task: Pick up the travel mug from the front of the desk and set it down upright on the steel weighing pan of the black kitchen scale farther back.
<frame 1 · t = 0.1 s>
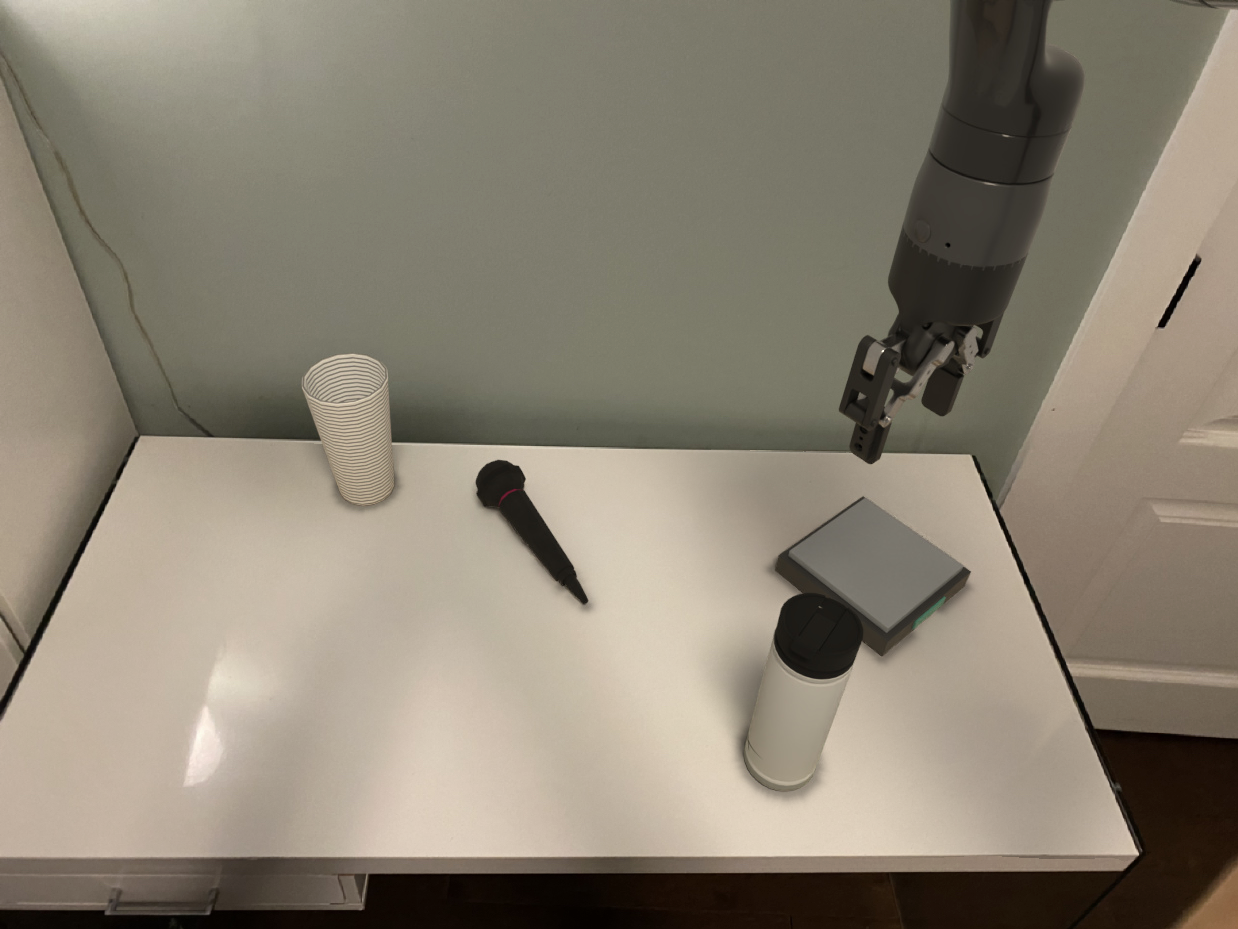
hand: (900, 432, 66), 30 cm above the table, tool pointing down, fingers open, 8 cm apart
scale: (869, 578, 95), on the table
microphone: (528, 545, 97), on the table
travel mug: (777, 761, 80), on the table
cup: (367, 488, 102), on the table
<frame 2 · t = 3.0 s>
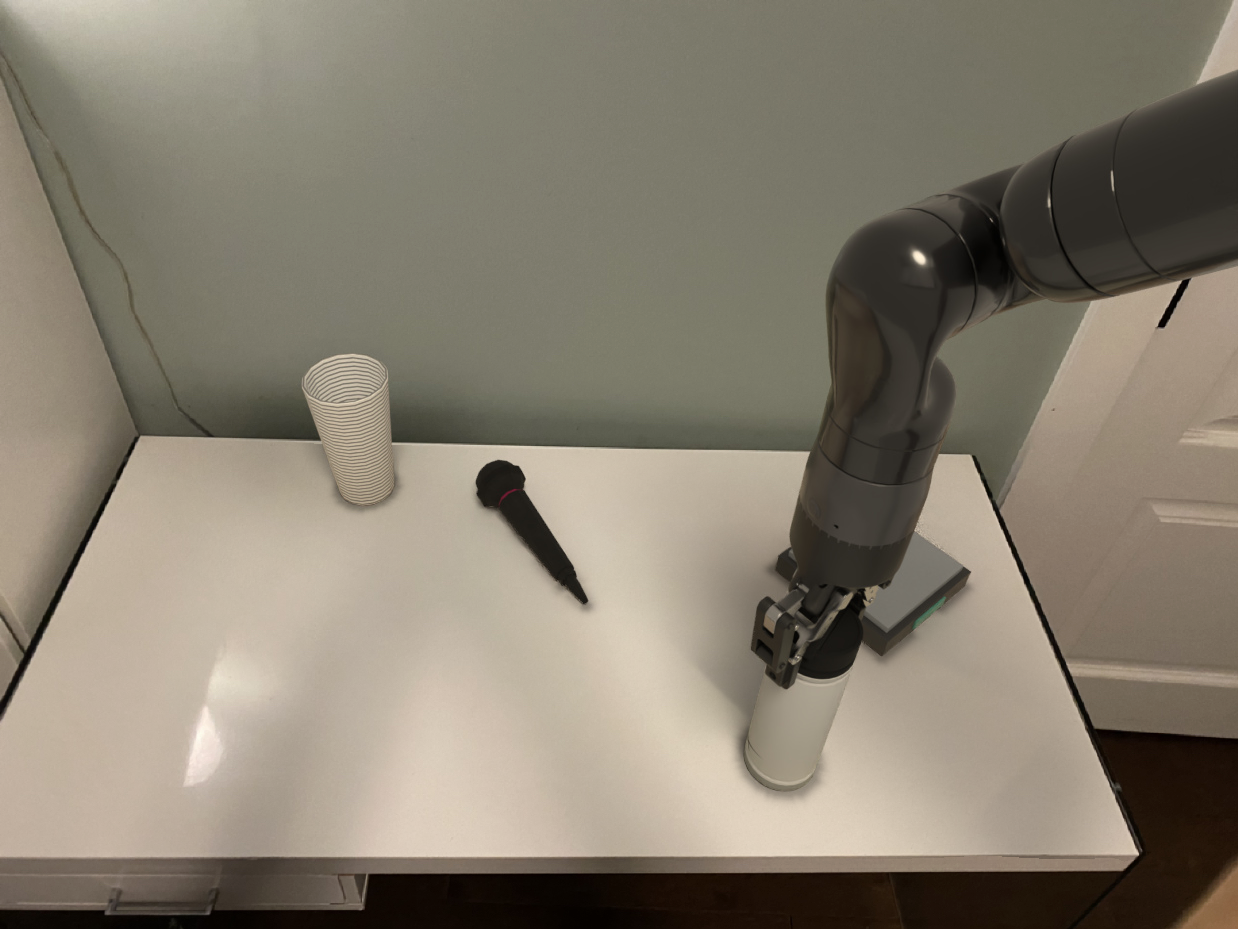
hand: (811, 653, 69), 16 cm above the table, tool pointing down, fingers closed on travel mug, 6 cm apart
travel mug: (778, 761, 80), on the table, touching gripper
everything else where it was.
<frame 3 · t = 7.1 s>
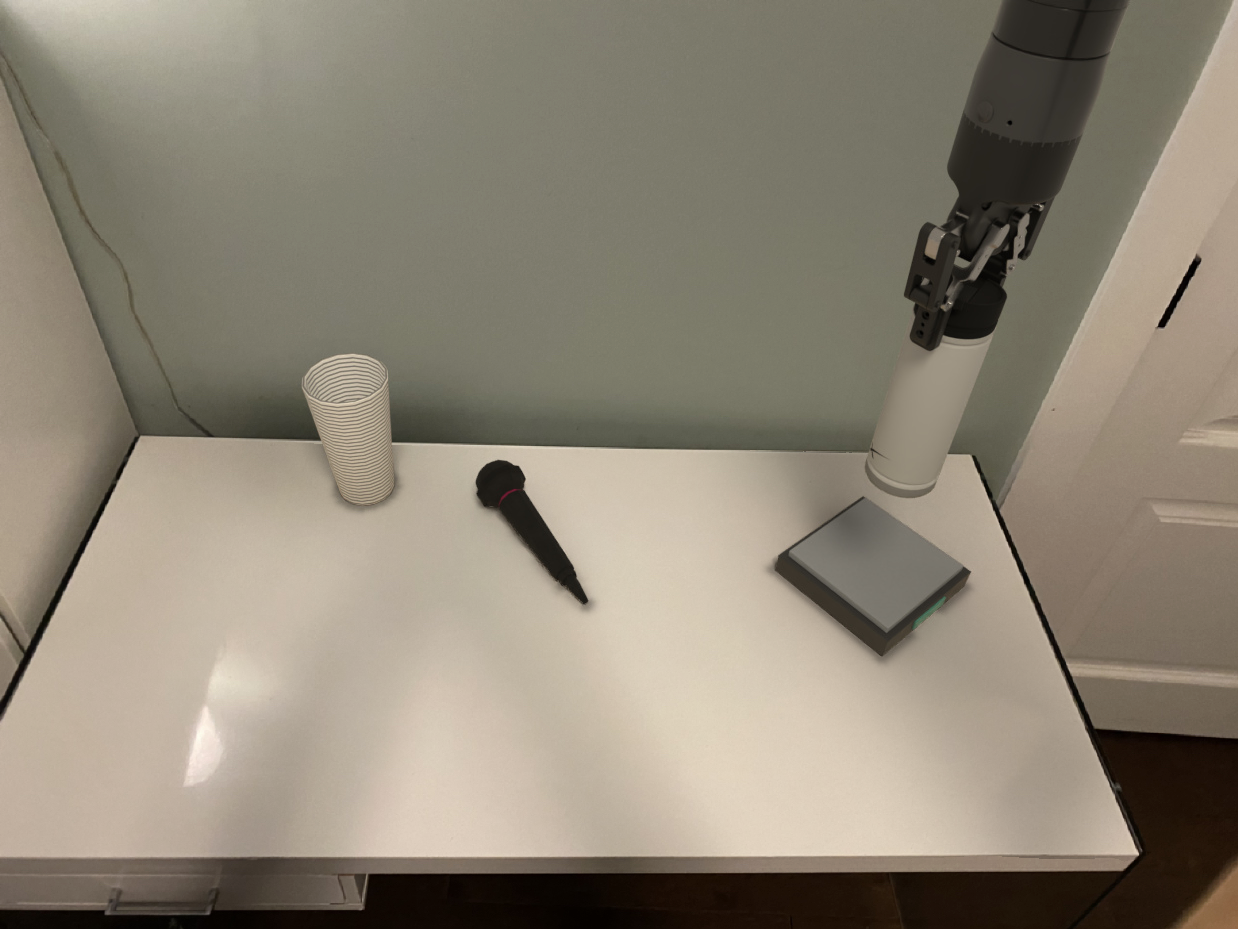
hand: (950, 327, 70), 34 cm above the table, tool pointing down, fingers closed on travel mug, 6 cm apart
travel mug: (898, 477, 81), point 18 cm above the table, touching gripper
everything else where it was.
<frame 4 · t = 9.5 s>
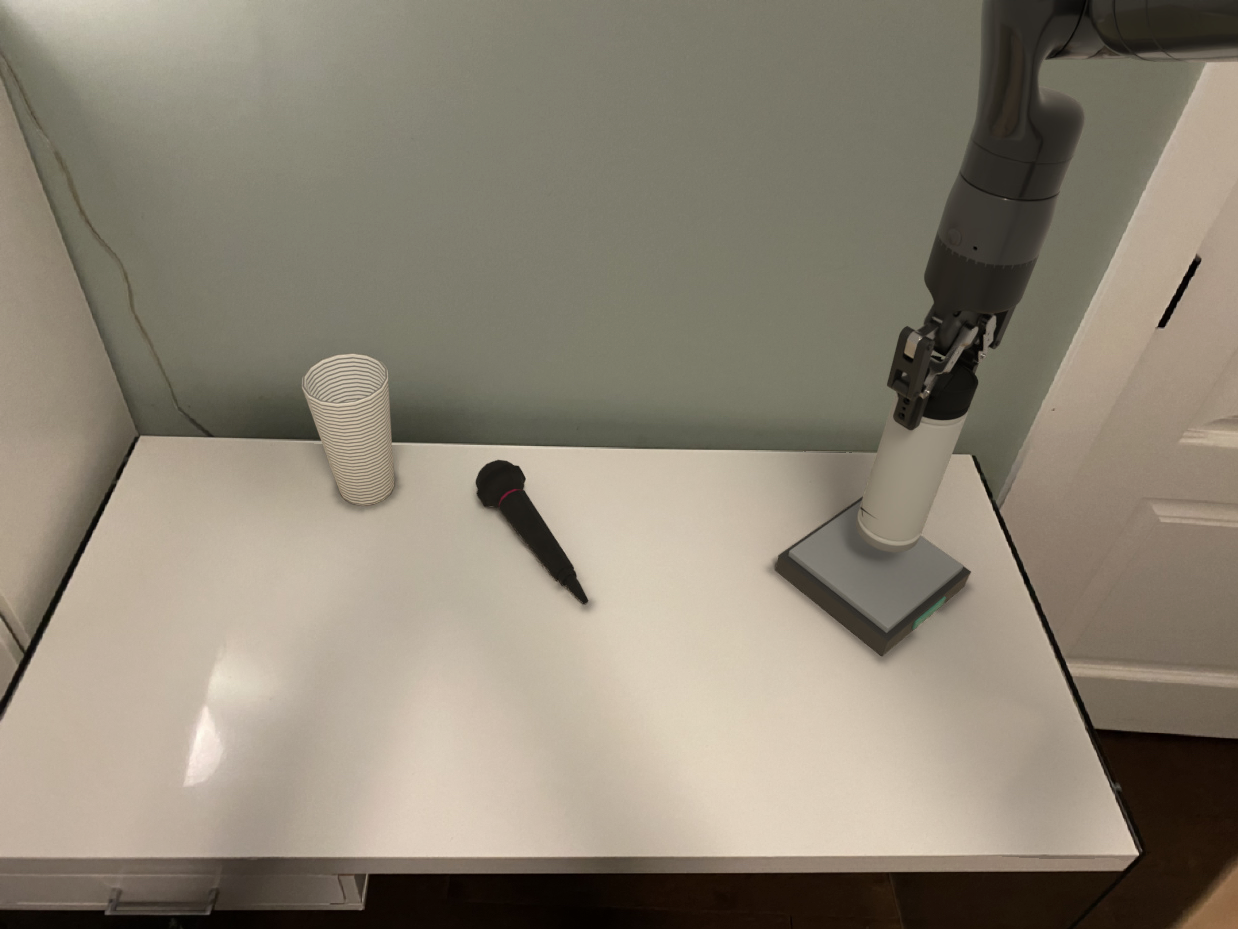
hand: (929, 407, 80), 23 cm above the table, tool pointing down, fingers closed on travel mug, 6 cm apart
travel mug: (885, 532, 90), point 7 cm above the table, touching gripper
everything else where it was.
when the fingers open (19 cm above the table, at t = 11.3 s): travel mug stays where it is, resting on scale.
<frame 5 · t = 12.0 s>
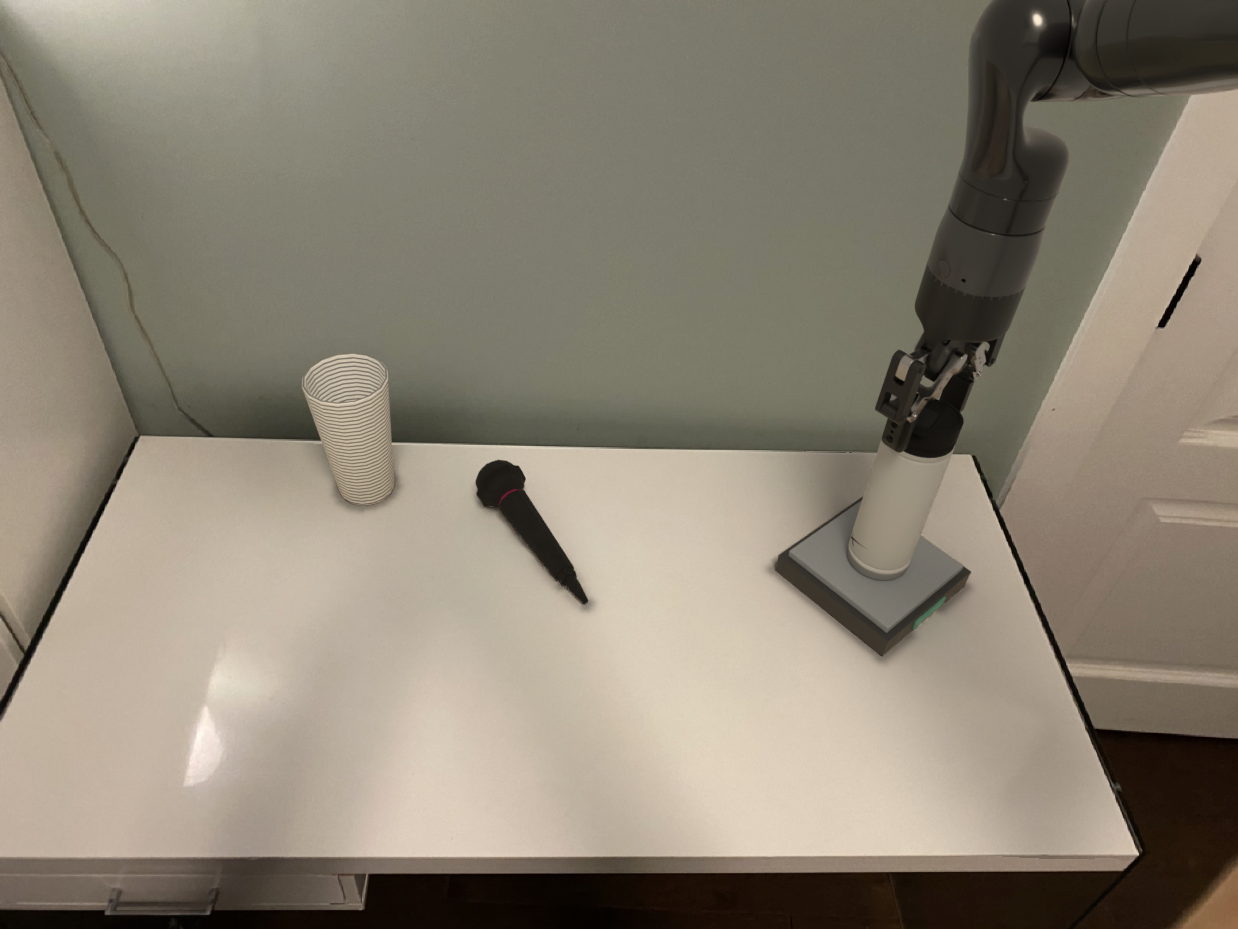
hand: (922, 427, 81), 21 cm above the table, tool pointing down, fingers open, 8 cm apart
travel mug: (875, 560, 93), point 3 cm above the table, touching scale
everything else where it was.
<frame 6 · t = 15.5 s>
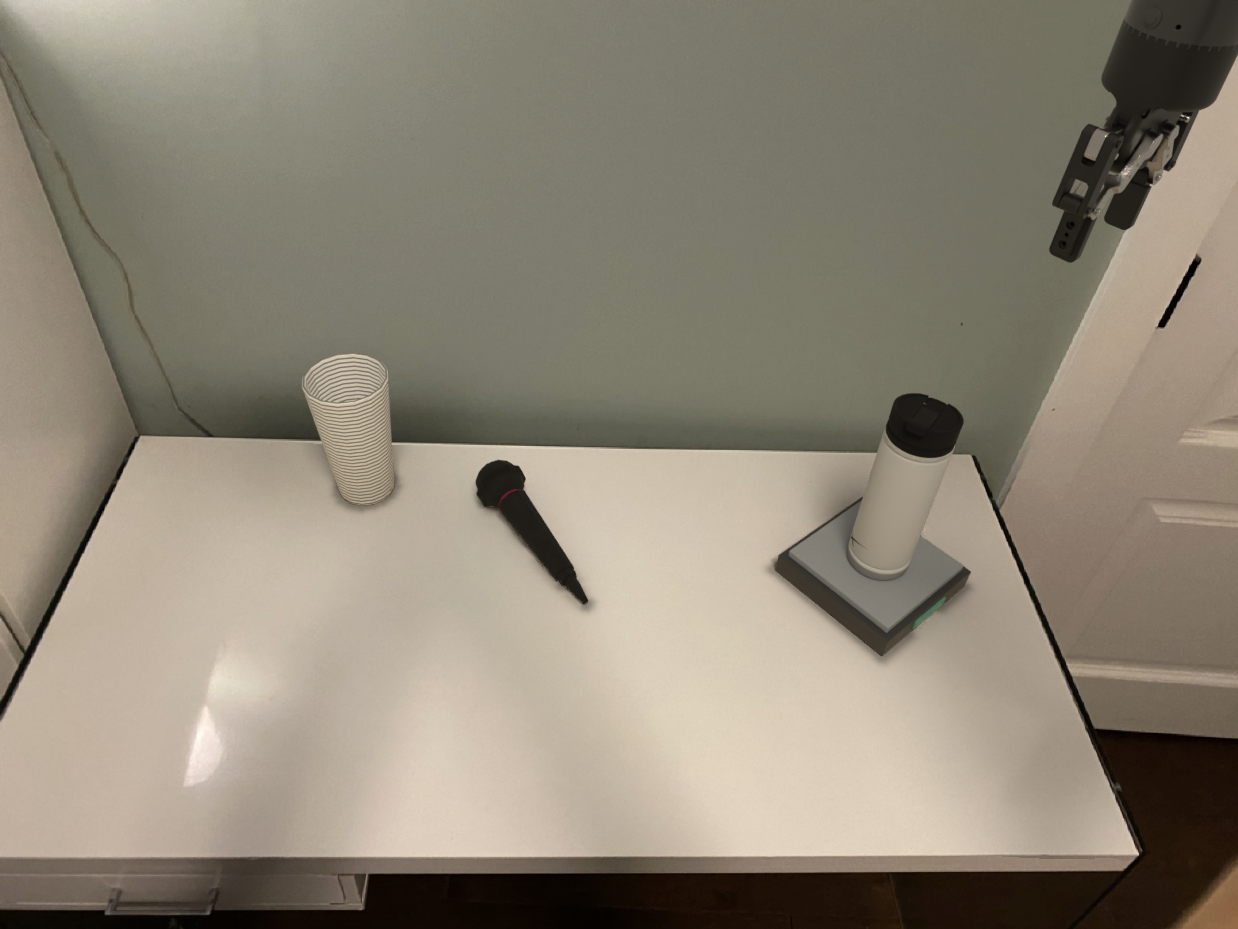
hand: (1090, 240, 72), 38 cm above the table, tool pointing down, fingers open, 8 cm apart
nothing on the table moved.
at the end: travel mug inside the target area on the scale (0.2 cm from its centre), point 3.0 cm above the scale's base; travel mug tilted 0°; travel mug touching scale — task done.
